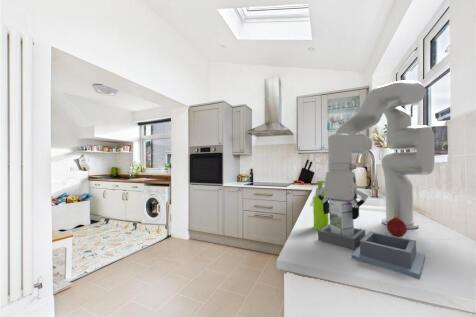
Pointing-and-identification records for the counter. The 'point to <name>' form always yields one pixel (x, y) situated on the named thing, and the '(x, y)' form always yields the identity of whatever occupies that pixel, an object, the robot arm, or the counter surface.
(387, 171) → the robot arm
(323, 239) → the grey square tray
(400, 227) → the onion
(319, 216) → the soap dispenser
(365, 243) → the frame
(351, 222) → the syrup box
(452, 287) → the counter surface
